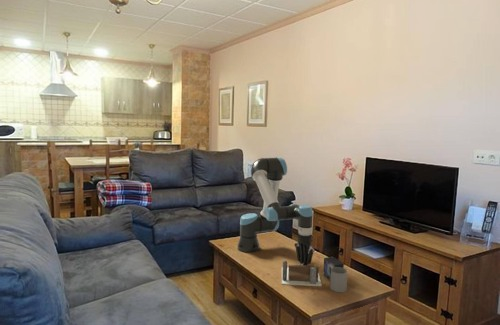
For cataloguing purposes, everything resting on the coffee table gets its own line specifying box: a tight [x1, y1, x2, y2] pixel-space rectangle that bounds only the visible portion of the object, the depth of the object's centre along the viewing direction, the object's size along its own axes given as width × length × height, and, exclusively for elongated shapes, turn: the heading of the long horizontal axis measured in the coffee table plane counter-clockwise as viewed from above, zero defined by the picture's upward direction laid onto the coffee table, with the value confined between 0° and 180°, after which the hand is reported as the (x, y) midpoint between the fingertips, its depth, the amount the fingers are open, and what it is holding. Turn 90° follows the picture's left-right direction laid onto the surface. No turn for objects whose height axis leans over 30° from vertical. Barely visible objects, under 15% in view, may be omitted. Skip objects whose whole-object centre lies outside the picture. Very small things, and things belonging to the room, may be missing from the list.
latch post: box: [310, 267, 316, 284], centre depth 189 cm, size 2×3×9 cm
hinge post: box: [281, 260, 288, 281], centre depth 193 cm, size 2×2×11 cm
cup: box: [329, 267, 348, 293], centre depth 185 cm, size 8×8×10 cm
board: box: [281, 266, 322, 287], centre depth 199 cm, size 21×21×1 cm
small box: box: [323, 256, 345, 281], centre depth 196 cm, size 11×6×10 cm, turn 23°
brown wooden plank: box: [288, 263, 320, 282], centre depth 192 cm, size 2×16×9 cm, turn 85°
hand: (303, 274), depth 196 cm, fingers closed
